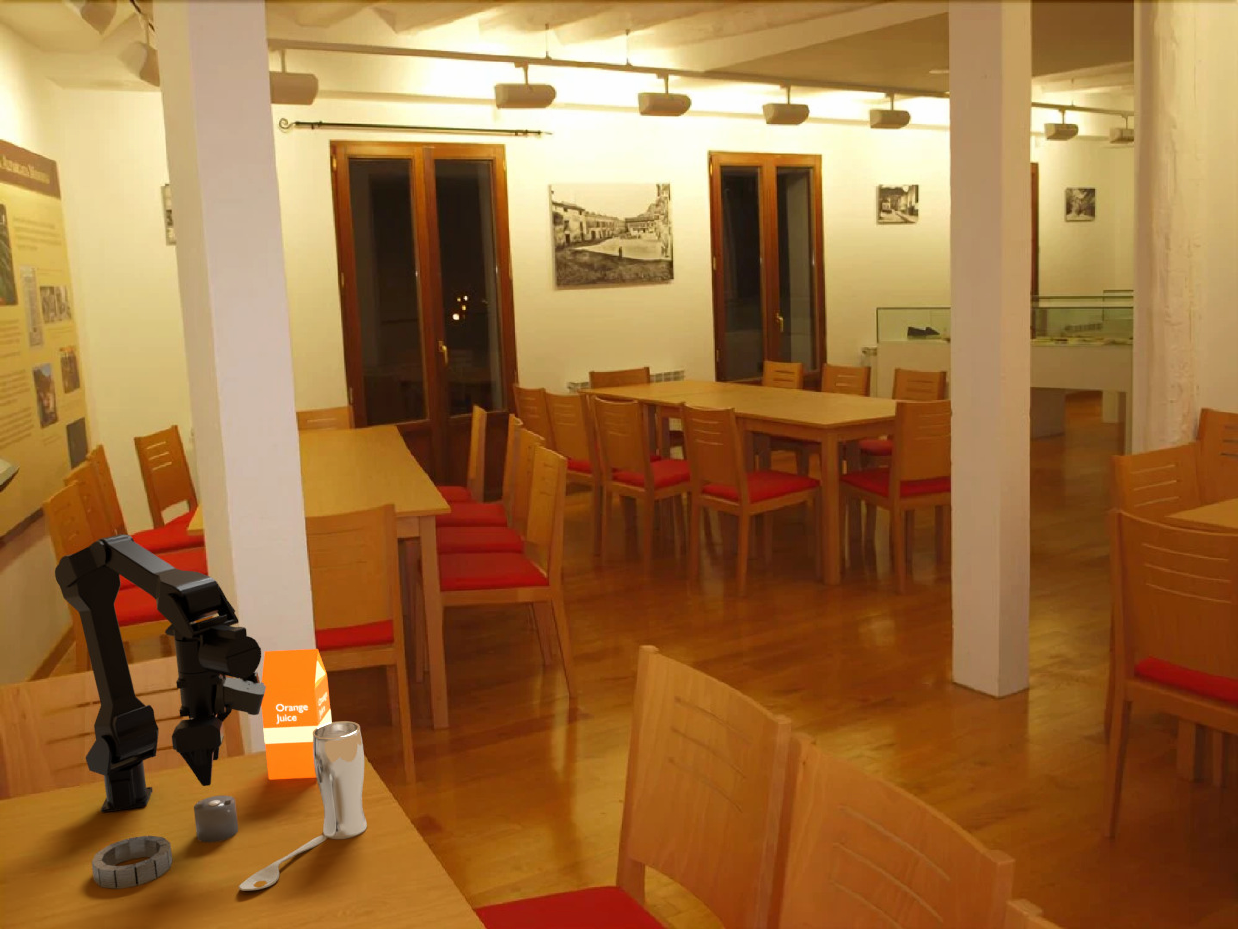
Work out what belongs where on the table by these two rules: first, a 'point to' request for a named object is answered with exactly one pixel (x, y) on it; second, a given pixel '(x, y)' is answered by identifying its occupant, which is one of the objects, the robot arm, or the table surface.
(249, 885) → the spoon
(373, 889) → the table surface
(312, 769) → the orange juice
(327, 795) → the beer glass
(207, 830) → the cap
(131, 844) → the segmented ring
